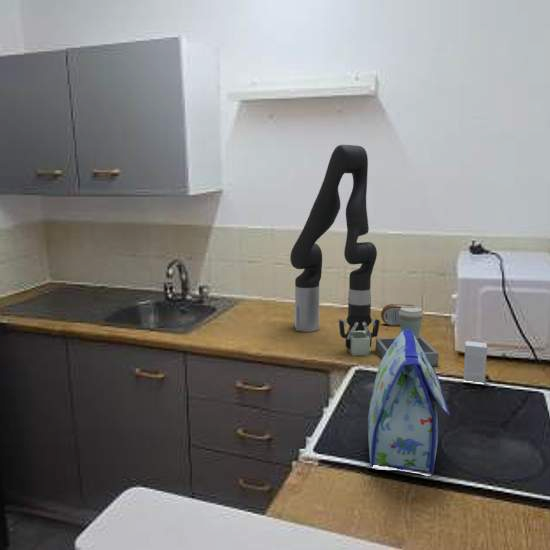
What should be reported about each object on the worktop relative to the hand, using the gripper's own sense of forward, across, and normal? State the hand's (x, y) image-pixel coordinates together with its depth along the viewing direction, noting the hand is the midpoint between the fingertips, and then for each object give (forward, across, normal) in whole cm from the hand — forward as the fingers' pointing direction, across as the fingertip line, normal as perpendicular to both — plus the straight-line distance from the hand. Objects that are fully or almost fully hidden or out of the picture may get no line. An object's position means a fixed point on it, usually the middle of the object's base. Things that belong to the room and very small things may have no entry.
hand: (358, 348), depth 190 cm
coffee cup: (+1, +21, +9) cm, 23 cm away
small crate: (+1, 0, 0) cm, 1 cm away
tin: (+1, +23, +27) cm, 35 cm away
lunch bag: (+1, -4, -64) cm, 64 cm away
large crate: (+1, +14, -8) cm, 16 cm away
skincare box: (+1, +28, -29) cm, 40 cm away
